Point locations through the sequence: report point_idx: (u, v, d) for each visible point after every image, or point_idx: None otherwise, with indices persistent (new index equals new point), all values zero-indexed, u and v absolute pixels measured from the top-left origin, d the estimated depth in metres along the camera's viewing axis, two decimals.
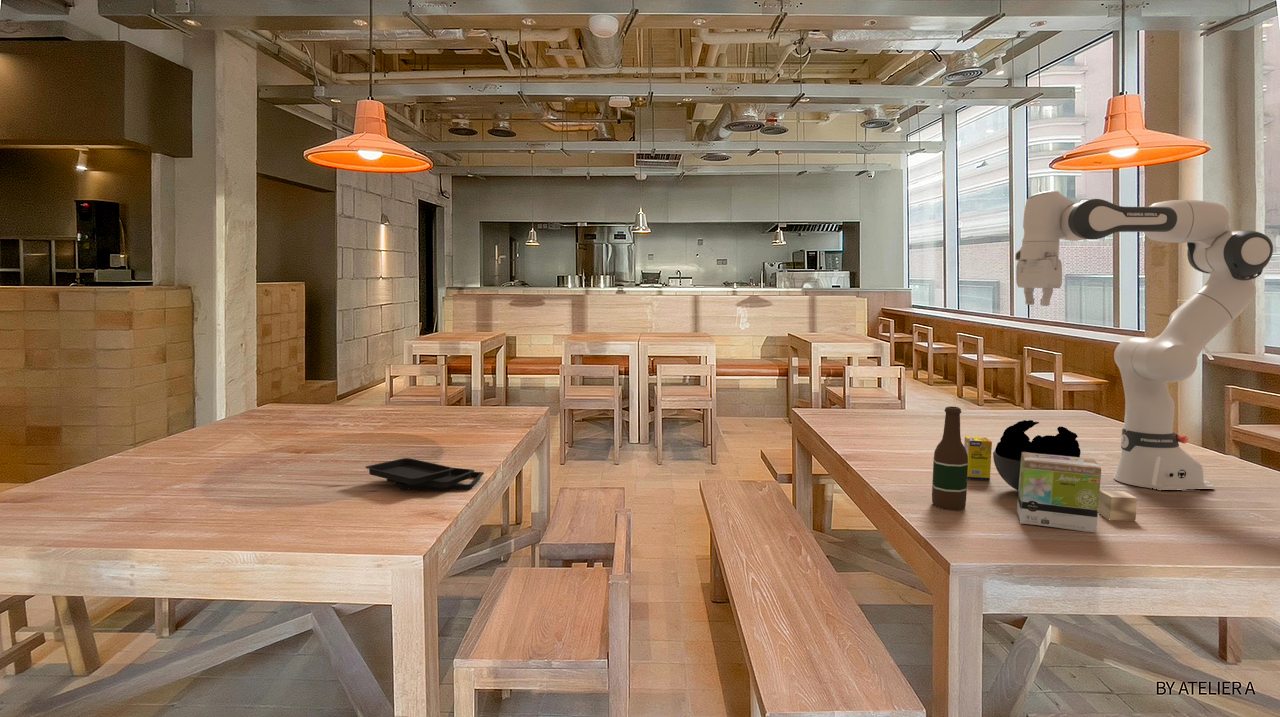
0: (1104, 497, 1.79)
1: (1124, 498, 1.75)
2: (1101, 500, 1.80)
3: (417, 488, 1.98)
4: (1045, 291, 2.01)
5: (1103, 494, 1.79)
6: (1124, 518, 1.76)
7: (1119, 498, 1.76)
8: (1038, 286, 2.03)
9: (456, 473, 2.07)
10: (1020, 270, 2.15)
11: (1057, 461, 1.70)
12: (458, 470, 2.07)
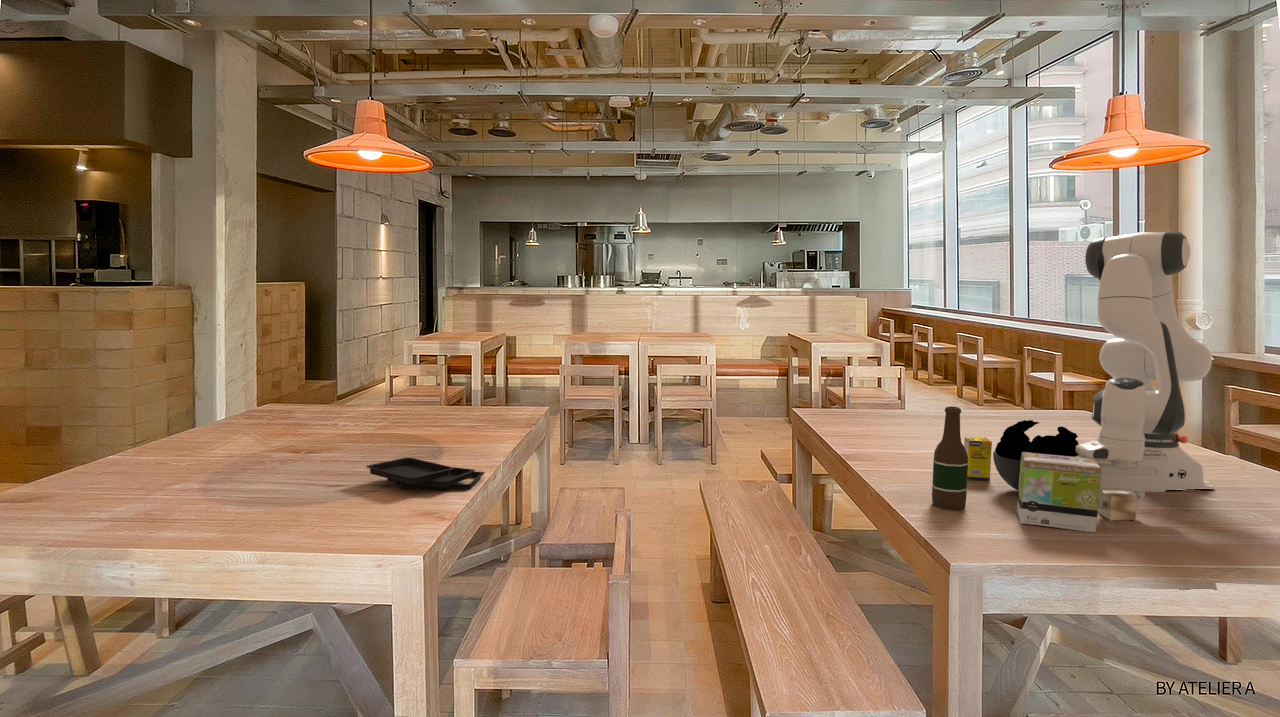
0: (1104, 496, 1.79)
1: (1124, 498, 1.75)
2: None
3: (417, 487, 1.99)
4: None
5: (1103, 494, 1.79)
6: (1124, 518, 1.76)
7: (1119, 498, 1.75)
8: (1142, 490, 1.76)
9: (457, 473, 2.08)
10: None
11: (1057, 461, 1.70)
12: (459, 470, 2.07)
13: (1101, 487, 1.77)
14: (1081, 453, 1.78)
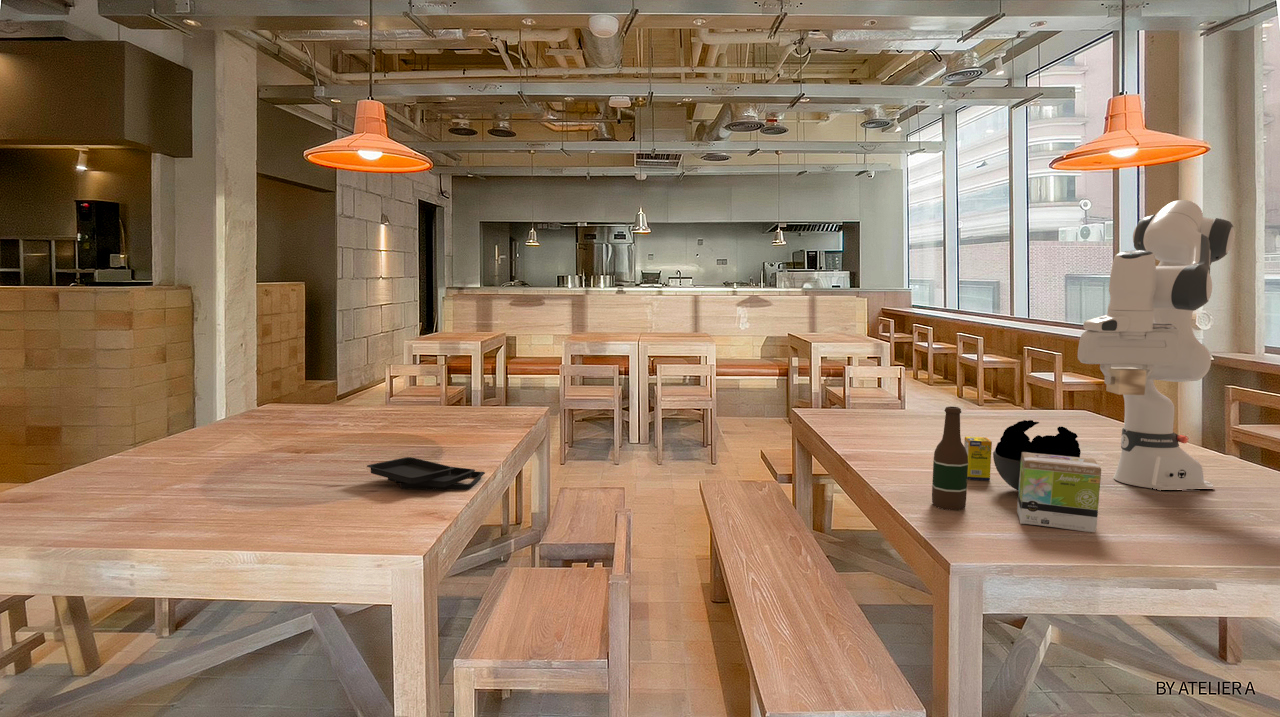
0: (1112, 372, 1.76)
1: (1133, 371, 1.73)
2: None
3: (417, 487, 1.99)
4: None
5: (1111, 369, 1.76)
6: (1133, 391, 1.73)
7: (1128, 371, 1.73)
8: (1151, 363, 1.73)
9: (457, 472, 2.08)
10: (1097, 342, 1.74)
11: (1057, 461, 1.70)
12: (459, 469, 2.08)
13: (1109, 361, 1.74)
14: (1089, 327, 1.75)
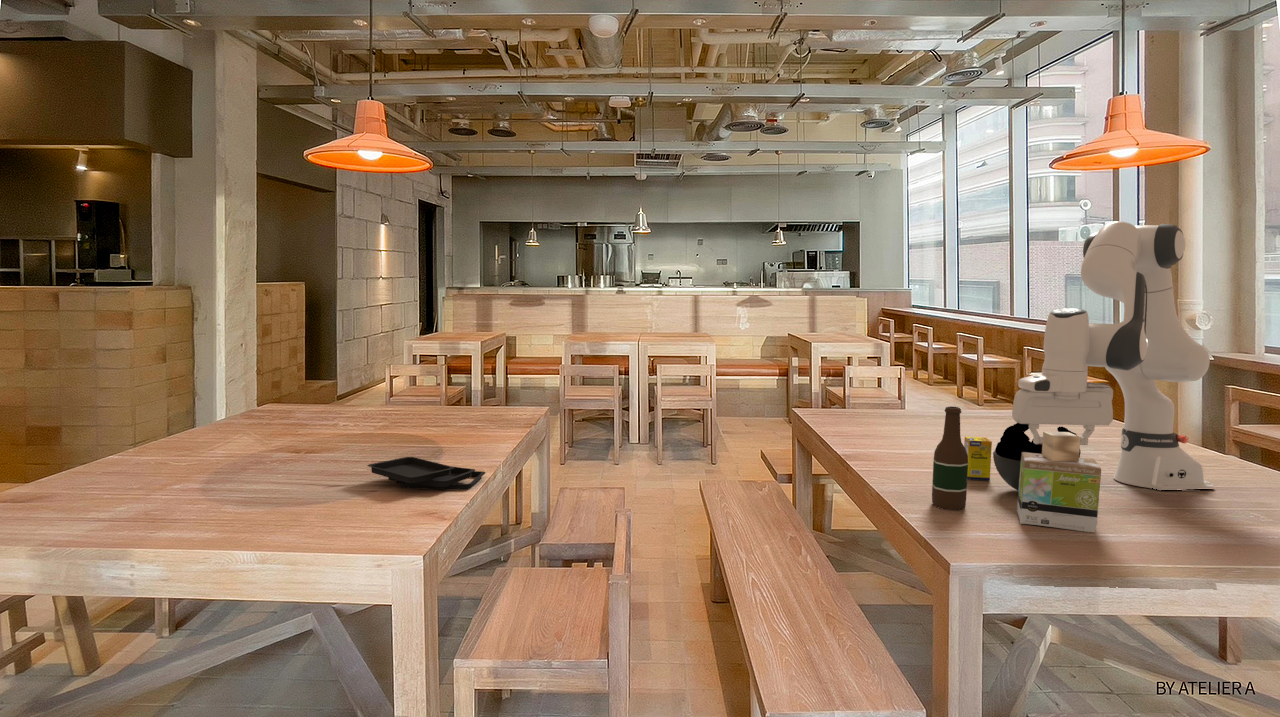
0: (1047, 437, 1.73)
1: (1067, 437, 1.69)
2: (1045, 441, 1.74)
3: (417, 487, 1.99)
4: None
5: (1046, 434, 1.73)
6: (1067, 458, 1.70)
7: (1062, 437, 1.69)
8: (1085, 423, 1.70)
9: (457, 472, 2.08)
10: (1030, 402, 1.70)
11: (1057, 461, 1.70)
12: (460, 469, 2.08)
13: (1043, 421, 1.70)
14: (1023, 386, 1.71)
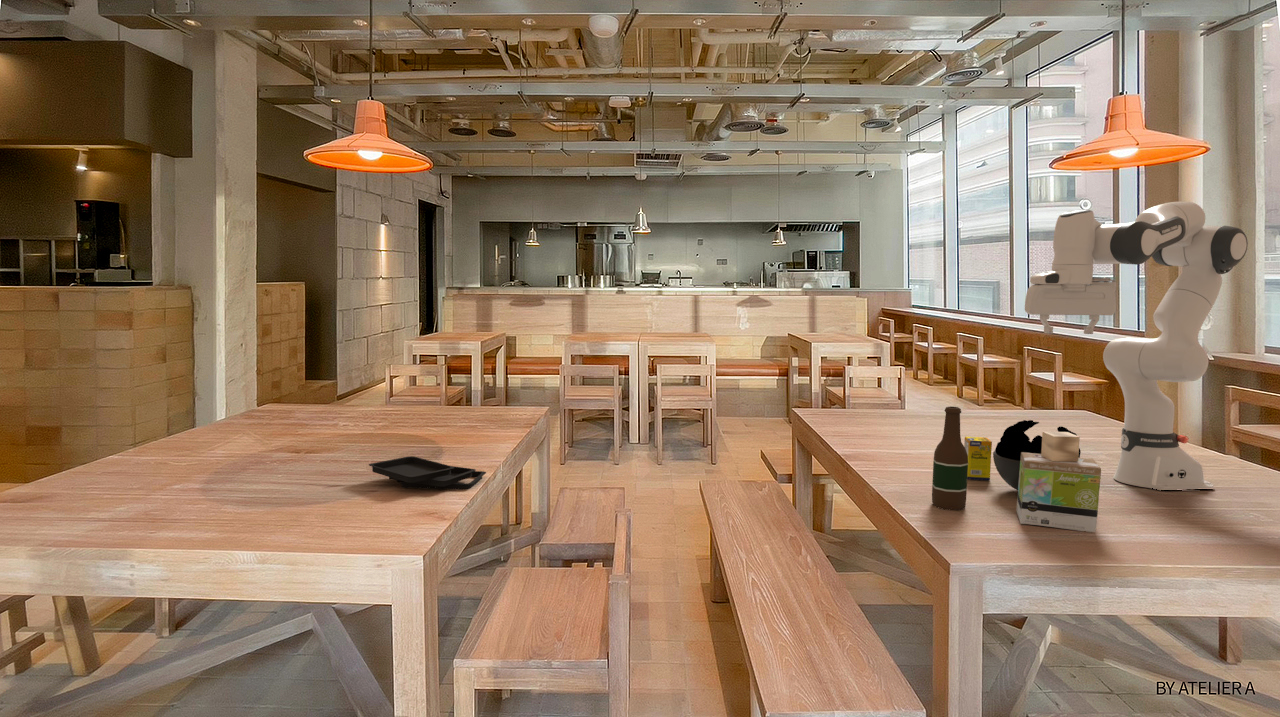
0: (1046, 437, 1.73)
1: (1066, 437, 1.69)
2: (1044, 441, 1.74)
3: (417, 486, 2.00)
4: None
5: (1046, 434, 1.73)
6: (1067, 458, 1.70)
7: (1061, 437, 1.70)
8: (1091, 313, 1.88)
9: (458, 472, 2.08)
10: (1041, 295, 1.89)
11: (1057, 461, 1.70)
12: (460, 469, 2.08)
13: (1053, 311, 1.89)
14: (1034, 281, 1.90)
